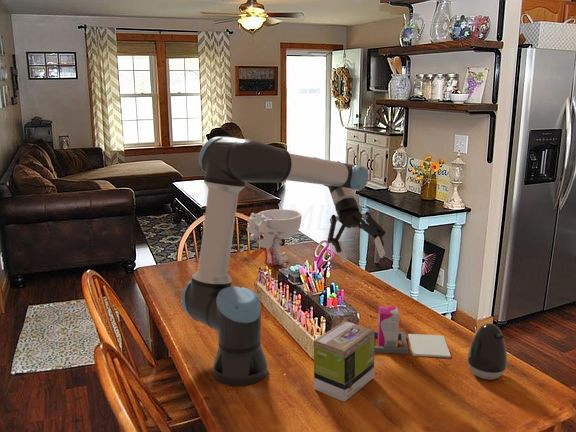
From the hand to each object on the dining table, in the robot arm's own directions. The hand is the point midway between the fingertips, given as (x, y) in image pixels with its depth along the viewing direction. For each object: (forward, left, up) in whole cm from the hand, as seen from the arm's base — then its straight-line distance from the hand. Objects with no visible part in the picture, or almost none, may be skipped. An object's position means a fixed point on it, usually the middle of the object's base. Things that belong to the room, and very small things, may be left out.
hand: (364, 258), depth 171 cm
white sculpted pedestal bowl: (+57, +37, -24) cm, 73 cm away
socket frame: (-12, -8, -24) cm, 28 cm away
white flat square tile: (-12, -20, -24) cm, 33 cm away
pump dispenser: (-27, -34, -24) cm, 49 cm away
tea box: (-36, +5, -24) cm, 43 cm away
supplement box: (-12, -8, -24) cm, 28 cm away
